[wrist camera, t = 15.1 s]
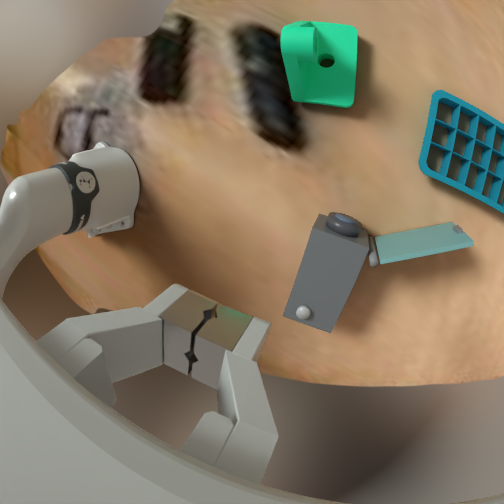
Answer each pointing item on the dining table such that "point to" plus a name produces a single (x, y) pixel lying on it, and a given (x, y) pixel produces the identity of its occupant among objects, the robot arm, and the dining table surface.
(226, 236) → the dining table surface
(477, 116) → the ice cube tray
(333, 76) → the camera mount
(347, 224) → the action camera
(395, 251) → the side door
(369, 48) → the dining table surface
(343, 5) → the dining table surface
